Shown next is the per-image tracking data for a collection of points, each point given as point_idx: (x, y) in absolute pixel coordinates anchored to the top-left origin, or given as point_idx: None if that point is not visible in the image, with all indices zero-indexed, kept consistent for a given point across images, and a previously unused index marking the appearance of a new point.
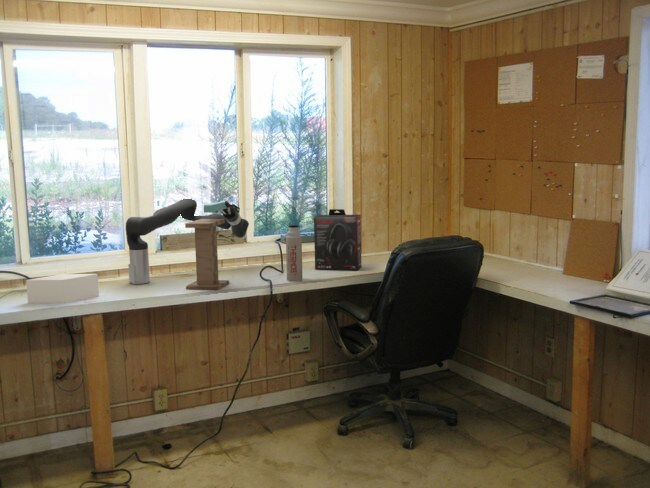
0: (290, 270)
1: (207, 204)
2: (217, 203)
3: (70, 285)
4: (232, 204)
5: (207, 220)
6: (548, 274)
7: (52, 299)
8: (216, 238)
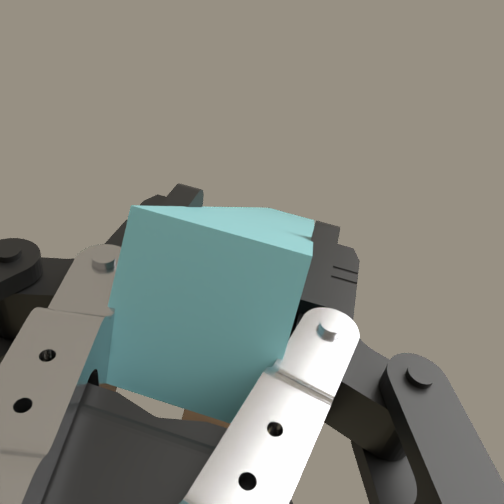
0: None
1: (311, 221)
2: (256, 210)
3: None
4: (31, 251)
5: None
6: None
7: None
8: (184, 413)
